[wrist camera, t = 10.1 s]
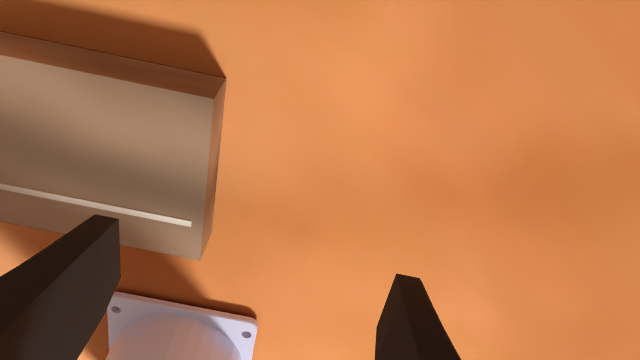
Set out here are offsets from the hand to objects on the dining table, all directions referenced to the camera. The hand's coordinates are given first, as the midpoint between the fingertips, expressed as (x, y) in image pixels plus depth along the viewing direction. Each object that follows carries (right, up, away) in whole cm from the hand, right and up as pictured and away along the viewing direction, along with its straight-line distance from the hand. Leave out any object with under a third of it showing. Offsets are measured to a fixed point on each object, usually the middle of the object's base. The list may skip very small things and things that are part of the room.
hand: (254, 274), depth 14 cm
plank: (-14, +5, +9) cm, 17 cm away
